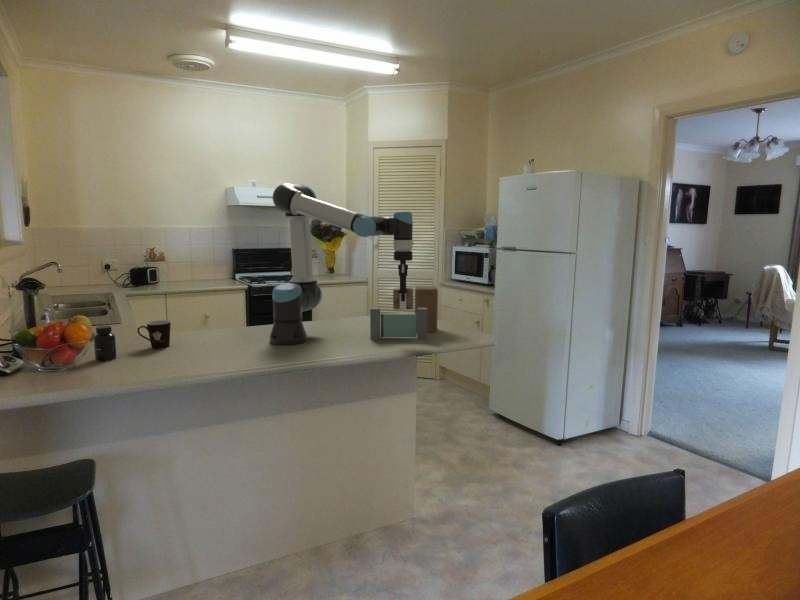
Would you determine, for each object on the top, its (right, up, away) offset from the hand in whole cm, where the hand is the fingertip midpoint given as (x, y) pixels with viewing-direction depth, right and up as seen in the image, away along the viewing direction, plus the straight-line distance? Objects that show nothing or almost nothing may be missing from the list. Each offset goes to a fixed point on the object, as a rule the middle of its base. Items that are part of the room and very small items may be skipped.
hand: (403, 307), depth 209 cm
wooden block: (+10, -11, +25) cm, 29 cm away
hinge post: (-12, -13, +11) cm, 21 cm away
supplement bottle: (-108, -19, -22) cm, 112 cm away
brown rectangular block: (0, 0, 0) cm, 0 cm away
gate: (-2, -13, +10) cm, 17 cm away
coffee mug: (-98, -16, -5) cm, 99 cm away
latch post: (+8, -13, +10) cm, 19 cm away
